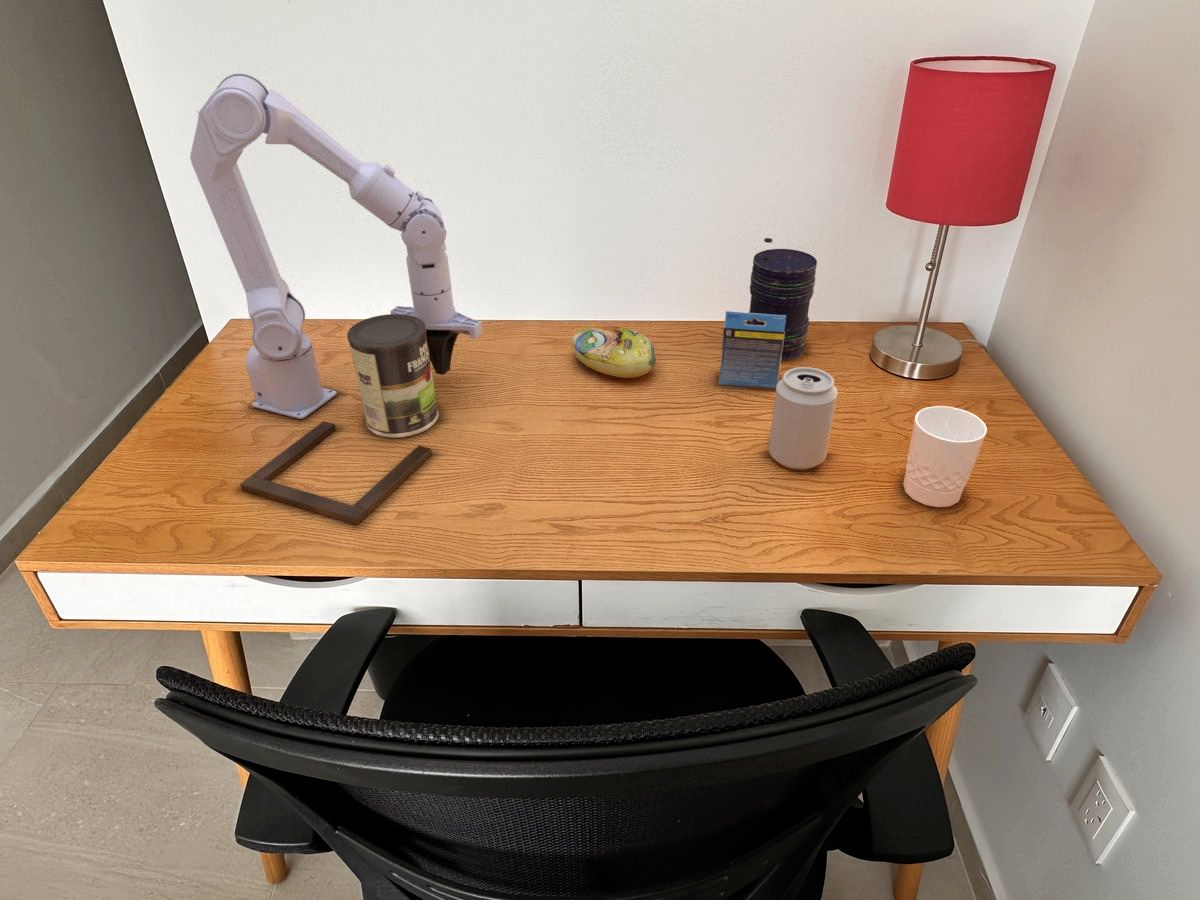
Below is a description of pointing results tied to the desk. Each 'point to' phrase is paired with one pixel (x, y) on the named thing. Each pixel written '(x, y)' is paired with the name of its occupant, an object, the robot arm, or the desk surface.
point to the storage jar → (784, 293)
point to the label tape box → (751, 350)
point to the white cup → (942, 454)
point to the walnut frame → (322, 505)
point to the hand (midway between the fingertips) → (442, 371)
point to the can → (802, 418)
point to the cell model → (614, 351)
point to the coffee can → (394, 374)
